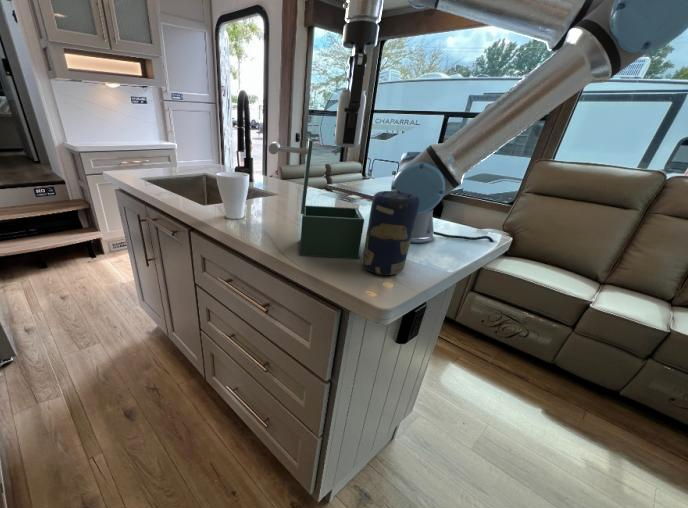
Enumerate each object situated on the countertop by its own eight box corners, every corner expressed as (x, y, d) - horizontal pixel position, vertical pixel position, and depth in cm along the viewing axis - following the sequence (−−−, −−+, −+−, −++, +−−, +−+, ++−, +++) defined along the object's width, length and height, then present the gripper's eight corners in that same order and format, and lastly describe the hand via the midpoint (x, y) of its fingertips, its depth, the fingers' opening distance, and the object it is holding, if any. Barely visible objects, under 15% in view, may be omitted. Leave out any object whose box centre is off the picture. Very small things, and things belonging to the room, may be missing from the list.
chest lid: (312, 138, 76) (272, 134, 76) (312, 141, 66) (268, 136, 66) (304, 203, 84) (268, 199, 84) (304, 214, 74) (264, 210, 74)
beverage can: (358, 148, 77) (367, 89, 71) (332, 146, 78) (338, 88, 72) (359, 146, 82) (367, 91, 76) (335, 145, 83) (341, 90, 77)
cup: (222, 211, 112) (220, 171, 105) (252, 213, 111) (251, 172, 105) (215, 220, 102) (212, 176, 96) (247, 221, 102) (246, 177, 96)
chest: (352, 243, 88) (357, 208, 84) (358, 258, 79) (364, 219, 74) (300, 240, 89) (302, 205, 84) (299, 255, 79) (302, 216, 74)
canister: (409, 269, 74) (430, 190, 65) (391, 282, 68) (411, 196, 59) (373, 258, 79) (387, 183, 70) (353, 268, 73) (365, 188, 64)
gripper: (341, 33, 76) (330, 139, 88) (347, 9, 60) (333, 144, 71) (372, 34, 76) (357, 141, 88) (388, 10, 59) (367, 146, 71)
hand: (347, 142), depth 79 cm, fingers closed on beverage can, 6 cm apart
